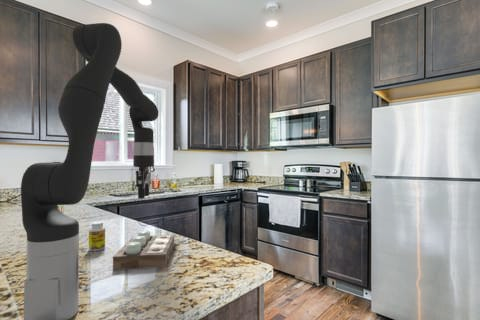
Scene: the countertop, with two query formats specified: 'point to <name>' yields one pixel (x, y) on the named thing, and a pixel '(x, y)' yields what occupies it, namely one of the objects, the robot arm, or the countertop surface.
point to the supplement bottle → (96, 236)
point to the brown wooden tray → (146, 254)
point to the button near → (133, 248)
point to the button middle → (140, 240)
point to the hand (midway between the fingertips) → (143, 197)
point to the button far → (145, 234)
